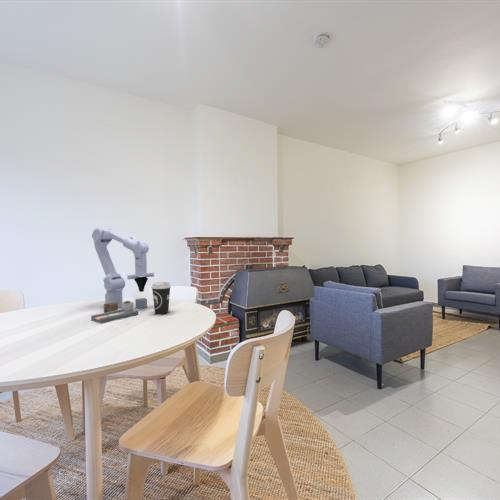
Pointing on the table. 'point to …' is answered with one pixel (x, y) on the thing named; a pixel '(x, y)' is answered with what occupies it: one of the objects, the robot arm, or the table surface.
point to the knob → (126, 306)
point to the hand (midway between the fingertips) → (141, 291)
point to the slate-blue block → (141, 303)
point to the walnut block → (110, 307)
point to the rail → (112, 316)
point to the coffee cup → (161, 297)
